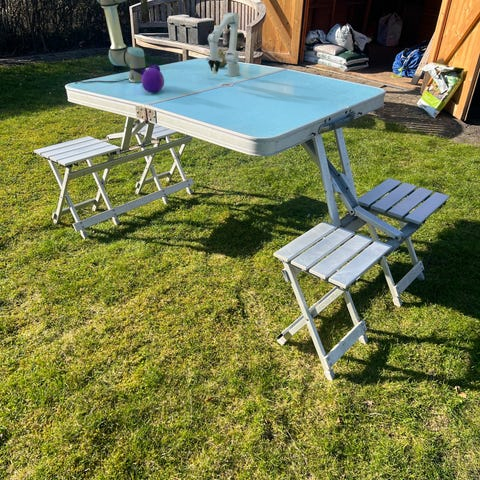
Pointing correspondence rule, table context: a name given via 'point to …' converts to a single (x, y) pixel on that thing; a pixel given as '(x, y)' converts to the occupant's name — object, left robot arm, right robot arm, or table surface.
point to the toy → (152, 79)
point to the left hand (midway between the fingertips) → (146, 22)
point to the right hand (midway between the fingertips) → (214, 71)
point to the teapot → (222, 56)
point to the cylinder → (214, 70)
